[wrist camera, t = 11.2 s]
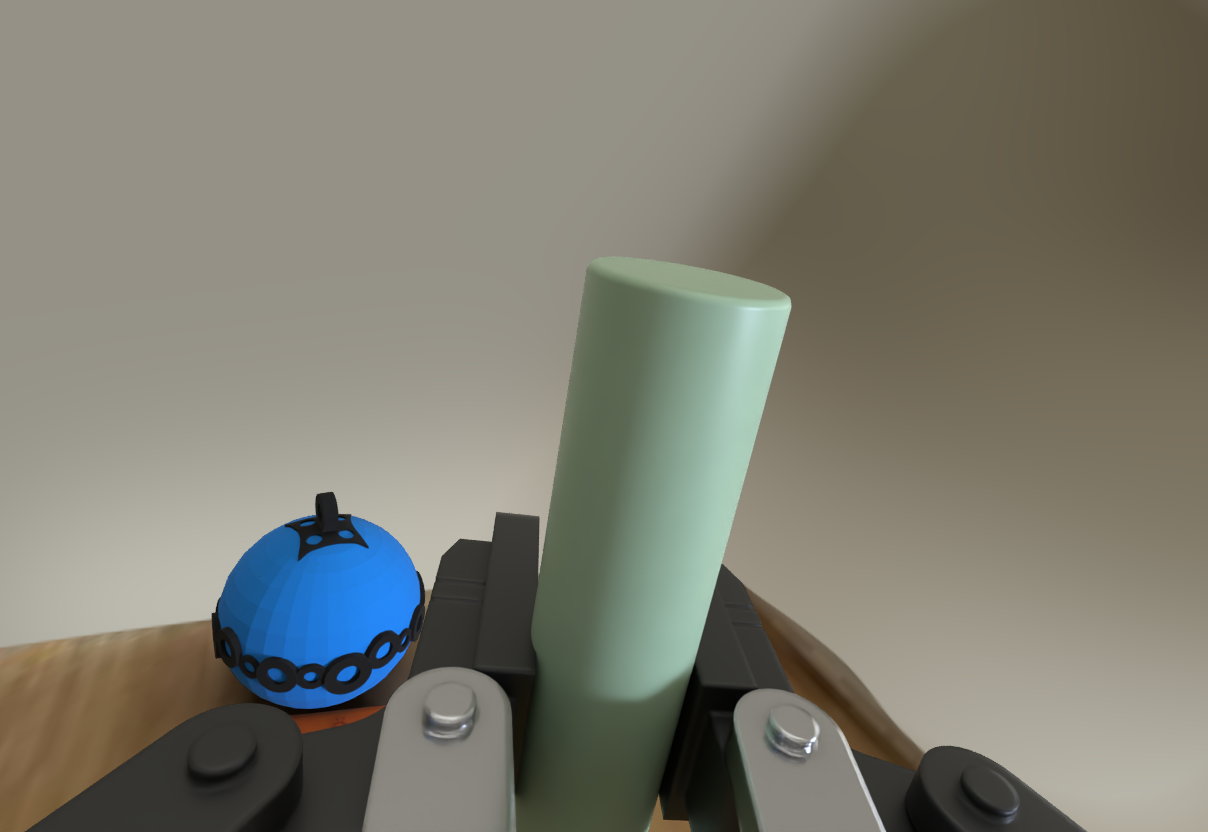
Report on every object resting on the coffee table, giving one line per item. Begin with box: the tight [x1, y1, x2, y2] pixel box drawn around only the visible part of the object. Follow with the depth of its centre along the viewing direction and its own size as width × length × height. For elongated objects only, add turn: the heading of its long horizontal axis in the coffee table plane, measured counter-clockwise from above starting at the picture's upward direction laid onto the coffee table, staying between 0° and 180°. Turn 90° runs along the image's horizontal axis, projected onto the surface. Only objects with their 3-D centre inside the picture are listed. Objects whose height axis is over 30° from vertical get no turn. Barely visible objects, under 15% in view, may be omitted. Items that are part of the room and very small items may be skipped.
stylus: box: [515, 257, 791, 832], centre depth 8 cm, size 2×2×13 cm
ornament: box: [212, 492, 425, 709], centre depth 28 cm, size 9×9×10 cm
